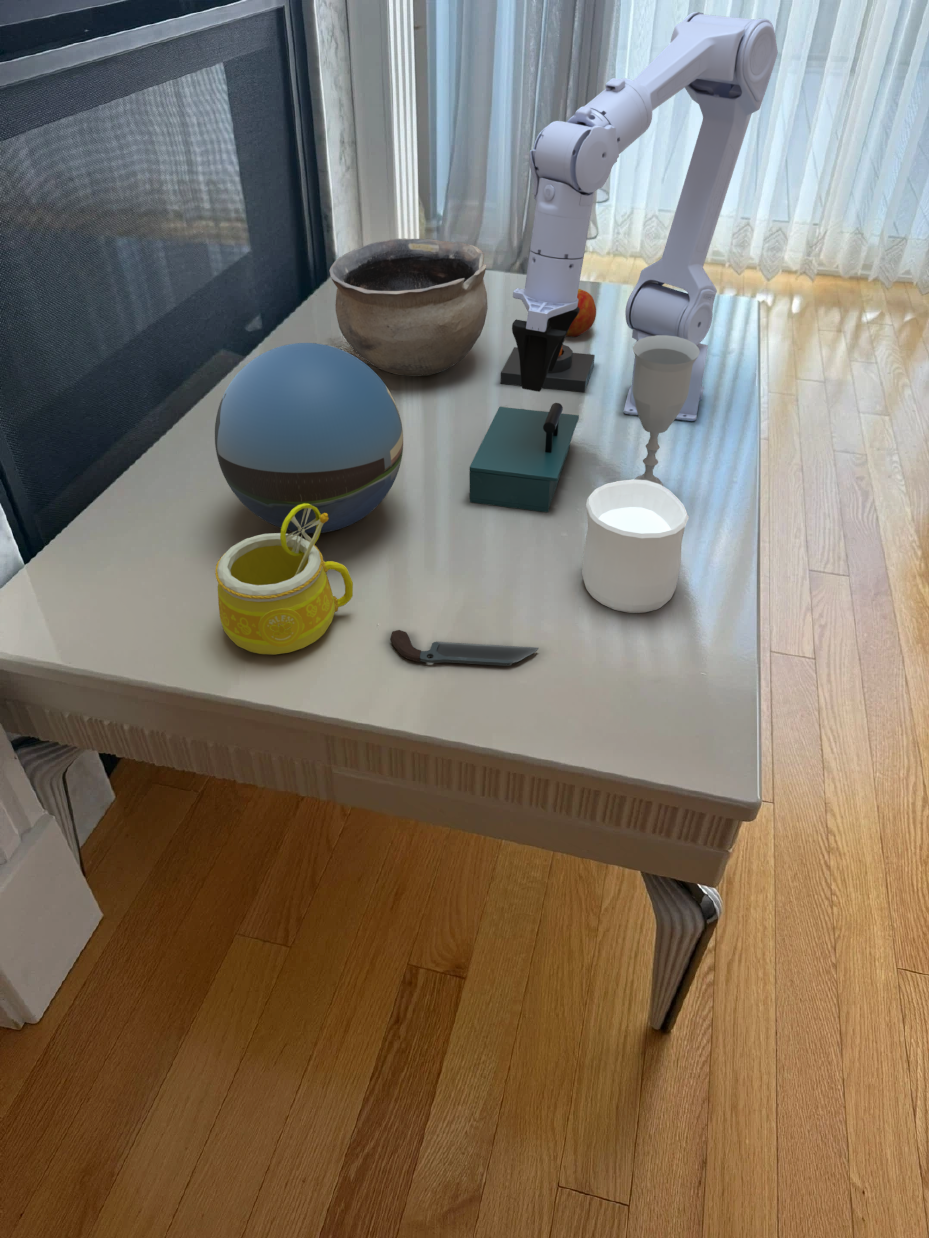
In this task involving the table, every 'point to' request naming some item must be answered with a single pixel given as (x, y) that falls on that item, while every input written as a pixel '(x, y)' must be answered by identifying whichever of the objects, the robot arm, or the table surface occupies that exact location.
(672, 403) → the chalice
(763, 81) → the robot arm
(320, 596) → the mug
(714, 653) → the table surface
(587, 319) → the fruit
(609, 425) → the table surface
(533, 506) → the open box
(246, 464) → the decorative sphere
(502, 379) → the switch base
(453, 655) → the knife
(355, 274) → the ceramic bowl
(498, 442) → the teal panel with handle
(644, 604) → the cup
